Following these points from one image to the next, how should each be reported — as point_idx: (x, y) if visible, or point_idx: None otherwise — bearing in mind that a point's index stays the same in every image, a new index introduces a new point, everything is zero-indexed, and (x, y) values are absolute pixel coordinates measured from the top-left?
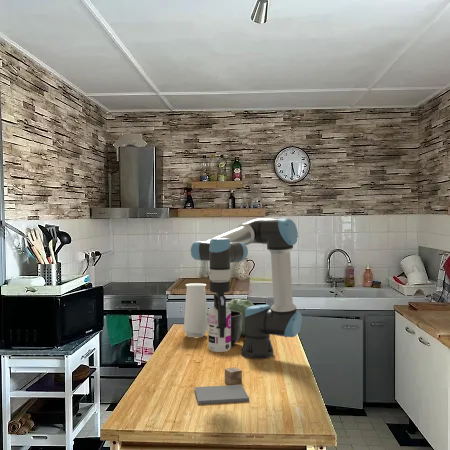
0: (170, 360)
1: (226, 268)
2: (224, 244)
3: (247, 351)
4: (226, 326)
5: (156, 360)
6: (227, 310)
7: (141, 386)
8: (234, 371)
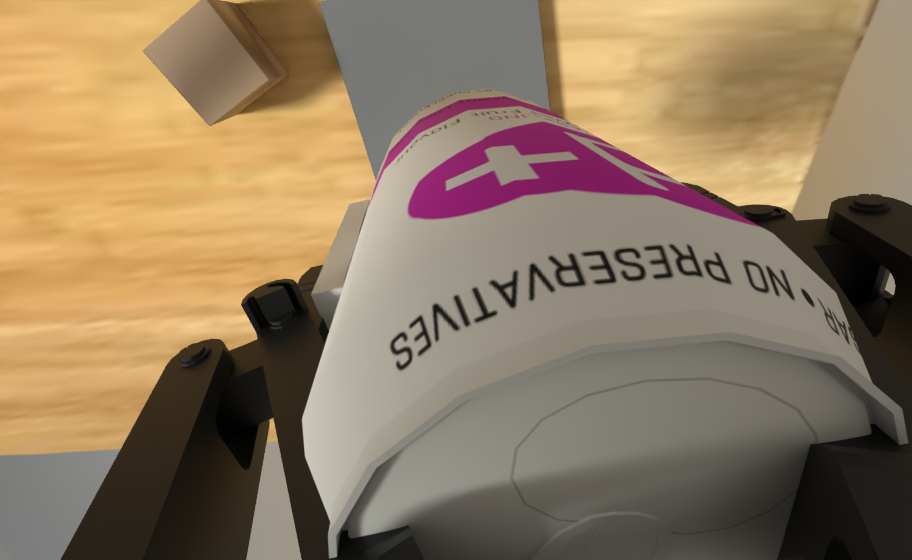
0: (26, 397)
1: None
2: None
3: None
4: (867, 196)
5: (59, 441)
6: (831, 344)
7: None
8: (242, 54)
